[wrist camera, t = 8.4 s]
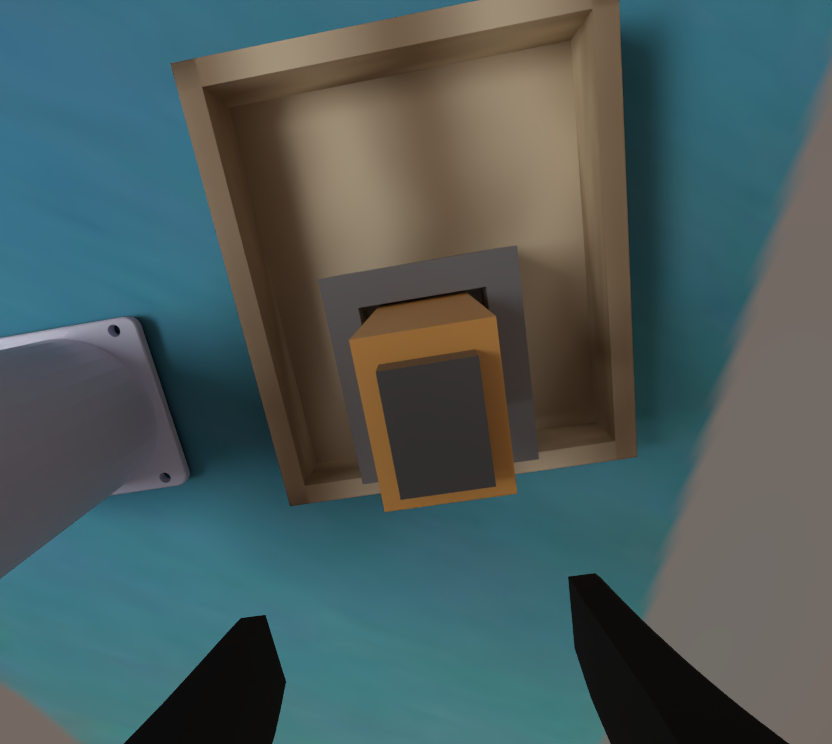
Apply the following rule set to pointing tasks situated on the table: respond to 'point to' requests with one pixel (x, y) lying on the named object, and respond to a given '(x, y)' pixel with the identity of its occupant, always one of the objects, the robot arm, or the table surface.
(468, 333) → the plug
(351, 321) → the inlet socket
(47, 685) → the table surface
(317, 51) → the walled box
